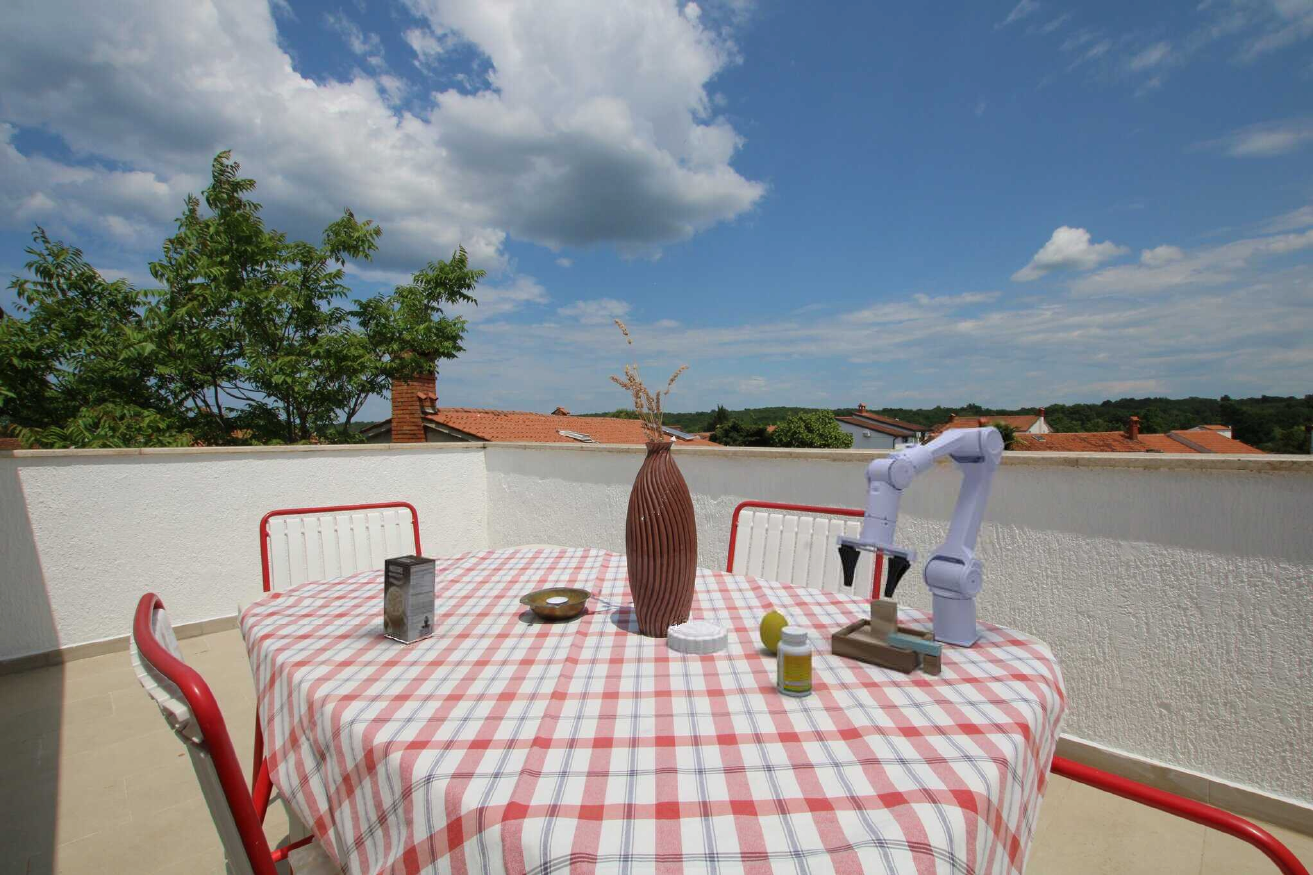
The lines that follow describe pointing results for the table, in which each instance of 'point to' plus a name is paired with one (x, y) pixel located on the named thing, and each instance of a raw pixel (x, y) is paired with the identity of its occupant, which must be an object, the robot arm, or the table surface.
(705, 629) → the mooncake
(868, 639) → the lid
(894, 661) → the tray
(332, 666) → the table surface
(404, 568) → the coffee box
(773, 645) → the lemon
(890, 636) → the rectangular block
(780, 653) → the supplement bottle
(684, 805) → the table surface
